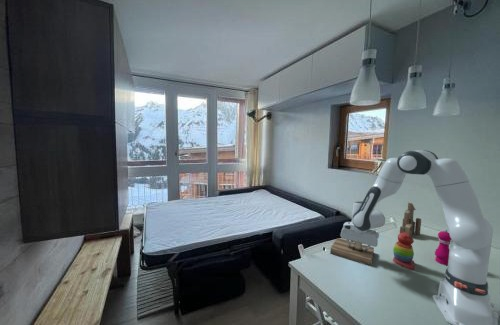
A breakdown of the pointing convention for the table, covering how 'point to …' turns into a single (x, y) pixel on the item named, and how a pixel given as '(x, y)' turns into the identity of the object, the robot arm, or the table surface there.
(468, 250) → the robot arm
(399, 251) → the stacking bear
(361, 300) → the table surface
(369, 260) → the board
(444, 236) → the pepper mill
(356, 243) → the peg
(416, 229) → the wooden toy
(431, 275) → the table surface
